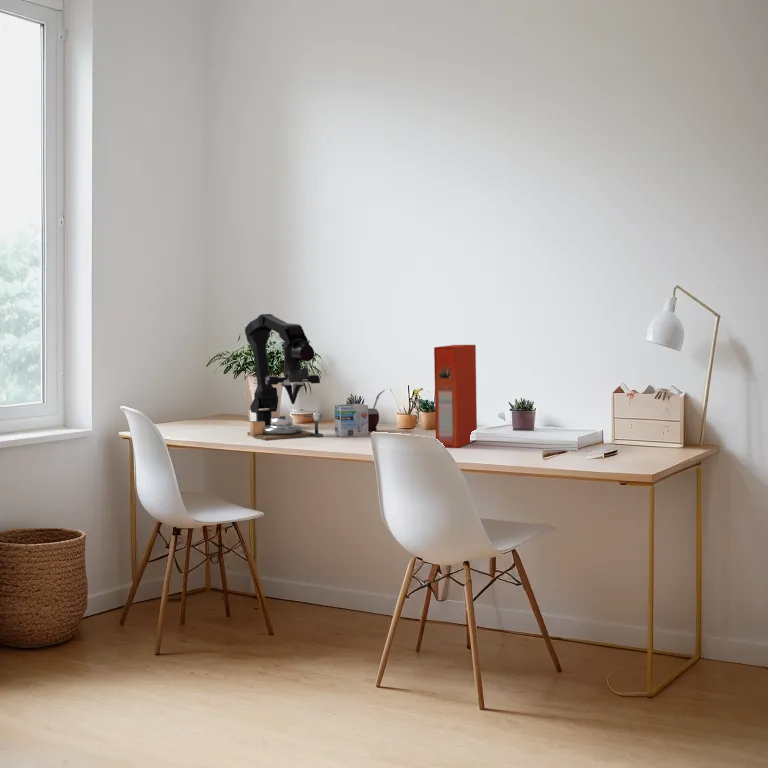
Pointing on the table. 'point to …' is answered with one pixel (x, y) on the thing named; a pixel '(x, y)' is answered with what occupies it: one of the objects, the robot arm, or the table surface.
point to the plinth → (272, 437)
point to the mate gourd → (373, 416)
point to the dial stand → (316, 423)
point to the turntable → (272, 429)
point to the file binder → (455, 394)
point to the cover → (281, 422)
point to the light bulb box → (351, 420)
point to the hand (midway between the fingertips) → (293, 403)
